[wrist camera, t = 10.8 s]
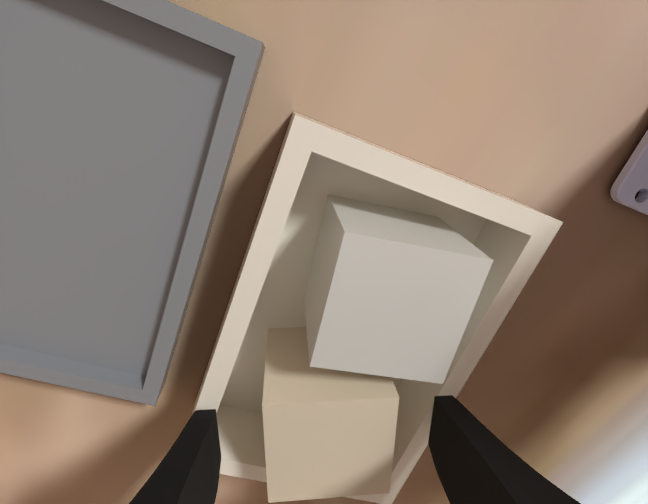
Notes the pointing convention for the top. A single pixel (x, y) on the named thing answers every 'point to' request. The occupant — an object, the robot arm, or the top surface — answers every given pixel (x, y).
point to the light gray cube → (389, 291)
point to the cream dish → (295, 263)
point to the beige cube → (324, 425)
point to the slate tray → (110, 182)
